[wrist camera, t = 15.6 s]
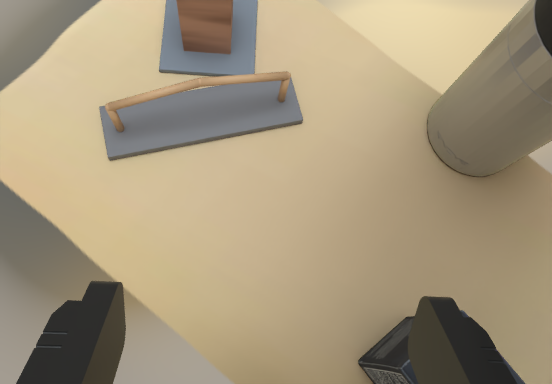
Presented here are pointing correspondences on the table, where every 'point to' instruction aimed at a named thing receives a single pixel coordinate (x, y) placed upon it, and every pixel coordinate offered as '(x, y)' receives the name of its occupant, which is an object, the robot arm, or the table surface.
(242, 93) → the board with wooden handle
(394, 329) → the small box
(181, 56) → the mat
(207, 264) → the table surface
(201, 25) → the block
